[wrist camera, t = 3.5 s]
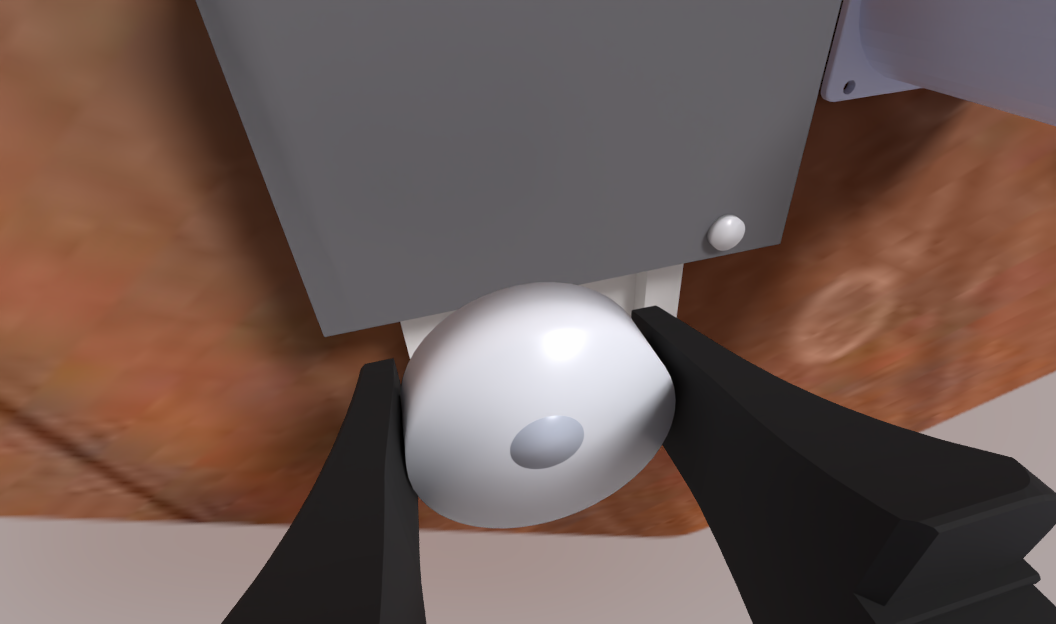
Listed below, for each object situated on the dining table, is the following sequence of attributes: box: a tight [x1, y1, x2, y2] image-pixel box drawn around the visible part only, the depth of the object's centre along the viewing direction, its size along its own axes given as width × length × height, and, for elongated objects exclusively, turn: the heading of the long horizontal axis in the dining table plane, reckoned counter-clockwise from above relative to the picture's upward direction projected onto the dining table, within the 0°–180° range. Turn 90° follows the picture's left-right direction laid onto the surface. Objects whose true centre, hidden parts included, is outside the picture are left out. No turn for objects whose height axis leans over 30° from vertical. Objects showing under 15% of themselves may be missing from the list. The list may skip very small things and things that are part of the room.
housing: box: [196, 0, 842, 337], centre depth 16 cm, size 12×16×5 cm
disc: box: [400, 282, 676, 528], centre depth 11 cm, size 5×5×2 cm
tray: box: [400, 264, 683, 359], centre depth 23 cm, size 11×13×3 cm
